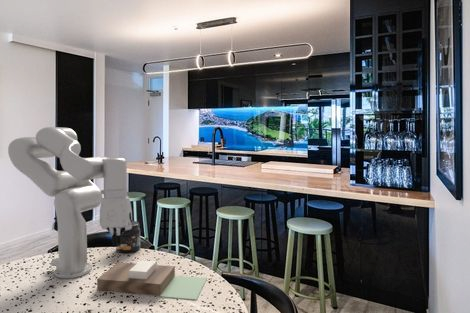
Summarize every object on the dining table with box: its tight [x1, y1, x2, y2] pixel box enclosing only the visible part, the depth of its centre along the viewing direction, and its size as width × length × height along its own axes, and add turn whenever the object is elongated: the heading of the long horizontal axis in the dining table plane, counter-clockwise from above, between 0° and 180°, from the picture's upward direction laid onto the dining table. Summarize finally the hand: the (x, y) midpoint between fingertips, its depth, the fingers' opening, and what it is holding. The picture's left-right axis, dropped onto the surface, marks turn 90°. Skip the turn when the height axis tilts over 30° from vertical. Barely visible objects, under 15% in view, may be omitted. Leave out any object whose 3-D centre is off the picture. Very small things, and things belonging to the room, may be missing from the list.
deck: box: [96, 261, 176, 297], centre depth 110 cm, size 22×14×4 cm, turn 82°
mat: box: [159, 275, 208, 301], centre depth 108 cm, size 12×15×1 cm
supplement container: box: [115, 220, 142, 254], centre depth 142 cm, size 10×10×12 cm
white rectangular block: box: [129, 259, 157, 279], centre depth 110 cm, size 6×9×2 cm, turn 172°
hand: (117, 245), depth 110 cm, fingers closed
